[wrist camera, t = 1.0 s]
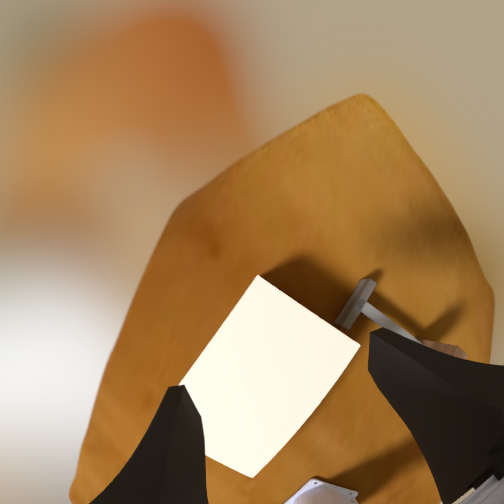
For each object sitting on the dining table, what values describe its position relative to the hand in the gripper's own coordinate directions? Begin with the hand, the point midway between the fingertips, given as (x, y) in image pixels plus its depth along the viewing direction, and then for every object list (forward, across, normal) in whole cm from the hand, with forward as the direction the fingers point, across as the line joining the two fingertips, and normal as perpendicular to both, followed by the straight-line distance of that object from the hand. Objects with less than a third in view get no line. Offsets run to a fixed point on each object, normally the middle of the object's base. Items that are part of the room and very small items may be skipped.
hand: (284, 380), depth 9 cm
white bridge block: (+16, +1, +14) cm, 22 cm away
